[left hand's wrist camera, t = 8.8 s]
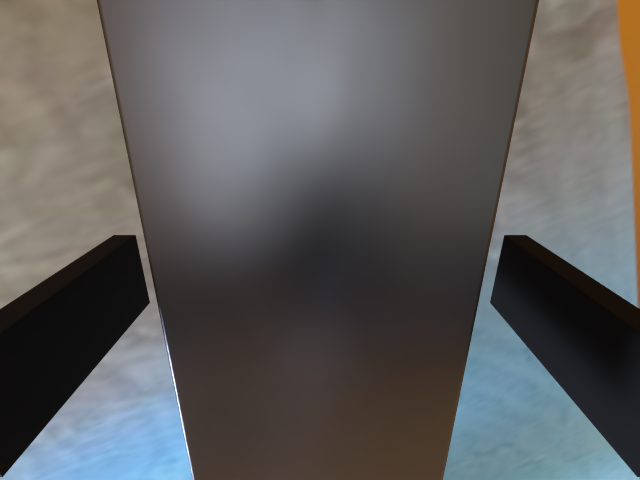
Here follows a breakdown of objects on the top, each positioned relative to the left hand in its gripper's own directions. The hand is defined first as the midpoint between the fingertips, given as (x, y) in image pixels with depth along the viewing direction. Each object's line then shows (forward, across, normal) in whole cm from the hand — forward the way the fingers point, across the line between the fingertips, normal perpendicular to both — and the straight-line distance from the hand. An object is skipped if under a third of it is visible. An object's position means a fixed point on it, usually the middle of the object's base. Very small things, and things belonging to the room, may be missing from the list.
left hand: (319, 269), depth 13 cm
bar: (+3, 0, -8) cm, 8 cm away
